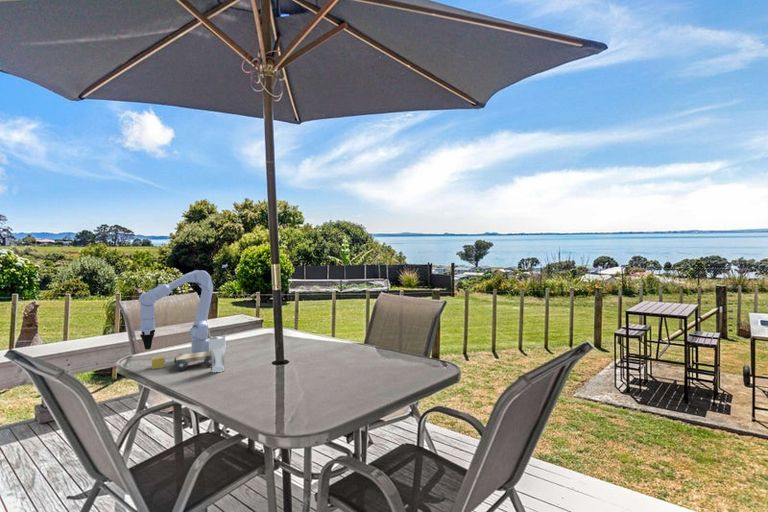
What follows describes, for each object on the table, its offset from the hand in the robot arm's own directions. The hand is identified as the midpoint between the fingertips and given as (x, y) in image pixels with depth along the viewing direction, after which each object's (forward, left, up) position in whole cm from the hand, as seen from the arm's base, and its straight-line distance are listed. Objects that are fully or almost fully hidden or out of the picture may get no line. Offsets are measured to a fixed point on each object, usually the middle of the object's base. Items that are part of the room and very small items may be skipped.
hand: (148, 347), depth 182 cm
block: (-4, +4, -9) cm, 11 cm away
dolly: (-19, +11, -9) cm, 24 cm away
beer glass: (-27, +26, -9) cm, 38 cm away
